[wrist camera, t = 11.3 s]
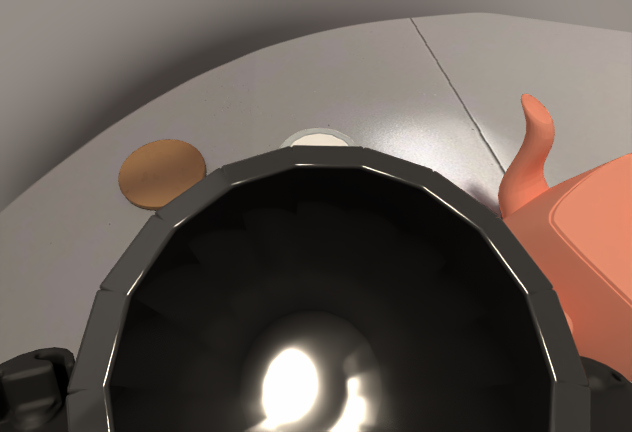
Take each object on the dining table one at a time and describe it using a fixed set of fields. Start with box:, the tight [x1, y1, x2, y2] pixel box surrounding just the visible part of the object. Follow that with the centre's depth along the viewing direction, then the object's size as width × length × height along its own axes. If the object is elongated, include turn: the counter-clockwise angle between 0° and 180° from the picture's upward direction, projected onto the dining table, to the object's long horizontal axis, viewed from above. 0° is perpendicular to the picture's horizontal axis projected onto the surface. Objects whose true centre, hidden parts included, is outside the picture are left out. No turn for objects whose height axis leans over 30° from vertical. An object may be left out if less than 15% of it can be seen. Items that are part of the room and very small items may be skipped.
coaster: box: [118, 139, 206, 210], centre depth 33 cm, size 8×8×1 cm
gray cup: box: [66, 145, 591, 432], centre depth 9 cm, size 7×7×11 cm
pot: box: [498, 94, 632, 381], centre depth 24 cm, size 18×17×12 cm
